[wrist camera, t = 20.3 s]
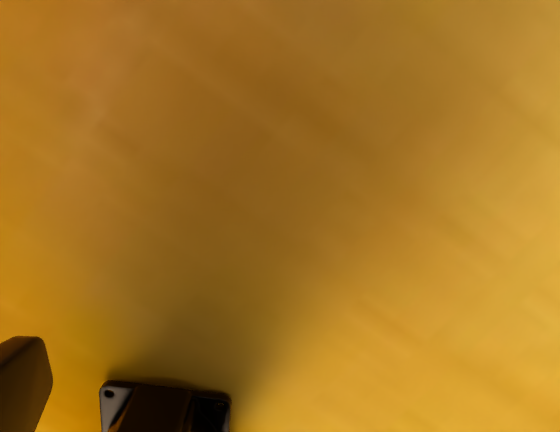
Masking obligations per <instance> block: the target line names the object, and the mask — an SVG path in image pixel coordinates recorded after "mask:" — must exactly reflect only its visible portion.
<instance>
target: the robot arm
mask: <svg viewBox="0 0 560 432" xmlns="http://www.w3.org/2000/svg"><path fill="white" fill-rule="evenodd" d="M52 384H53V376H52V371H51V367H50V363H49V359H48V355H47V351H46V347H45V344H44V341H43V340H42V339H41V338H39V337H36V336H15V337H12V338H10V339H8V340H6V341H4V342H2V343H0V432H35V429H36V427H37V424H38V422H39V419H40V417H41V415H42V412H43V410H44V407H45V405H46V403H47V400H48V398H49V395H50V393H51V389H52ZM109 390H111V391H113V392H110V391H109ZM99 397H100V412H101V427H102V432H230V419H231V404H232V402H231V399H230V397H229V396H227V395H226V394H223V393H215V392H206V391H198V390H189V389H181V388H172V387H164V386H155V385H147V384H139V383H130V382H122V381H113V380H108V381H106V382H104V383H103V385H102V387H101V388H100V391H99ZM218 403H222V404H224V405H219V404H218Z"/></svg>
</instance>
